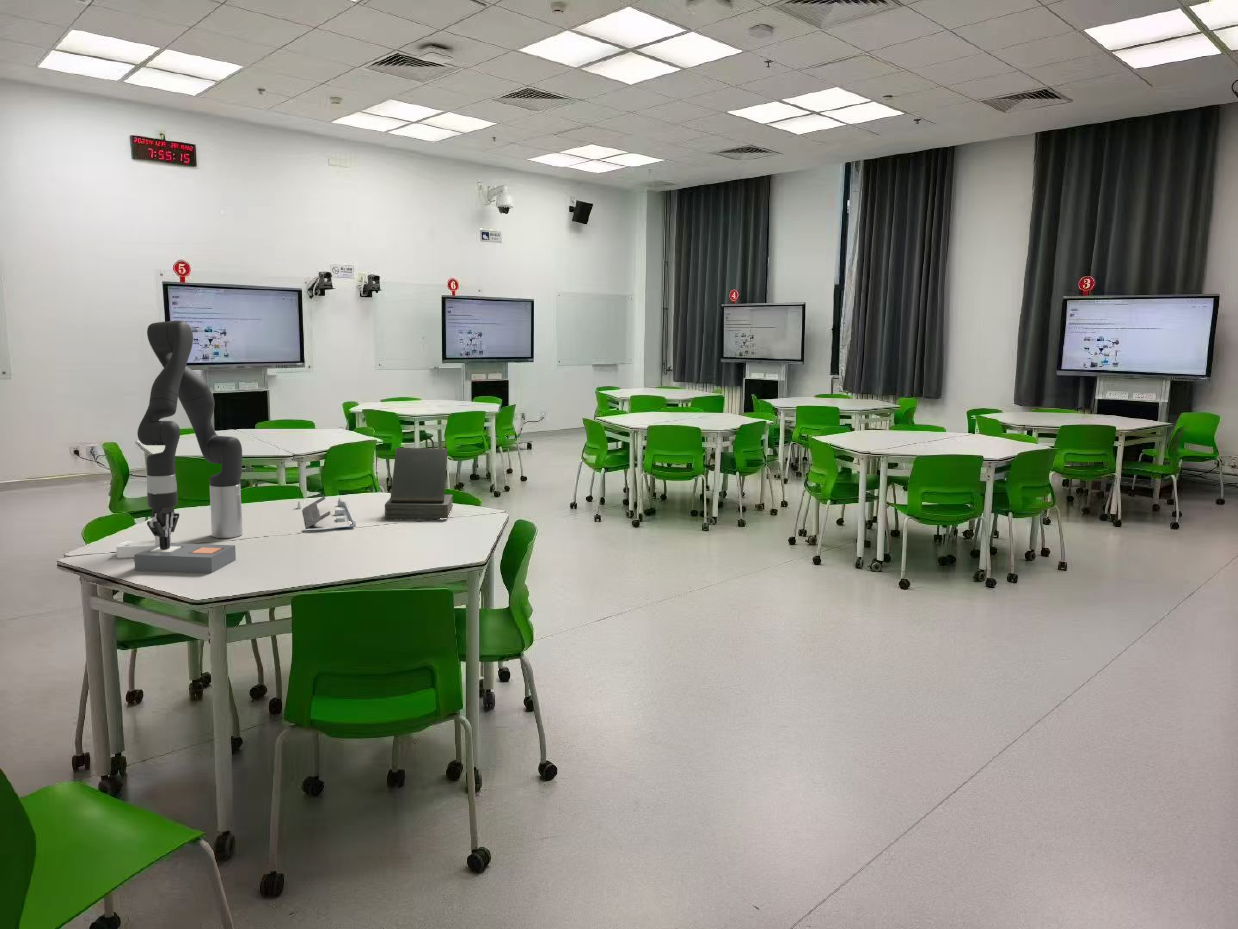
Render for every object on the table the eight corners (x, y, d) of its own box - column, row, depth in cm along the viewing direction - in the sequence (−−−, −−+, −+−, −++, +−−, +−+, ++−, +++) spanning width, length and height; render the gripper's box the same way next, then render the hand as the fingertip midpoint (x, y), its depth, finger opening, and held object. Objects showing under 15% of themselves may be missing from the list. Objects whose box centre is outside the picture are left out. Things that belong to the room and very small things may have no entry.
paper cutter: (346, 506, 331) (345, 492, 330) (357, 531, 291) (357, 515, 290) (297, 508, 324) (297, 494, 324) (302, 534, 284) (301, 518, 283)
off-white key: (161, 557, 245) (161, 545, 244) (182, 558, 245) (181, 546, 244) (150, 562, 239) (149, 551, 238) (170, 563, 239) (170, 551, 238)
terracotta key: (202, 558, 245) (201, 547, 244) (222, 559, 245) (221, 548, 244) (191, 564, 239) (190, 552, 238) (212, 565, 239) (211, 553, 238)
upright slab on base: (384, 520, 308) (383, 453, 304) (393, 509, 327) (393, 446, 324) (447, 521, 310) (447, 454, 306) (453, 510, 330) (452, 447, 326)
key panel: (163, 557, 249) (162, 542, 248) (235, 560, 249) (235, 545, 248) (135, 570, 235) (134, 554, 235) (212, 573, 235) (211, 557, 234)
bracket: (171, 550, 258) (170, 527, 257) (165, 556, 251) (164, 532, 250) (124, 552, 254) (122, 528, 253) (117, 558, 247) (115, 533, 246)
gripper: (162, 485, 245) (165, 543, 248) (135, 493, 232) (138, 554, 235) (187, 486, 245) (190, 543, 248) (161, 494, 232) (164, 555, 235)
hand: (165, 548), depth 241 cm, fingers closed
